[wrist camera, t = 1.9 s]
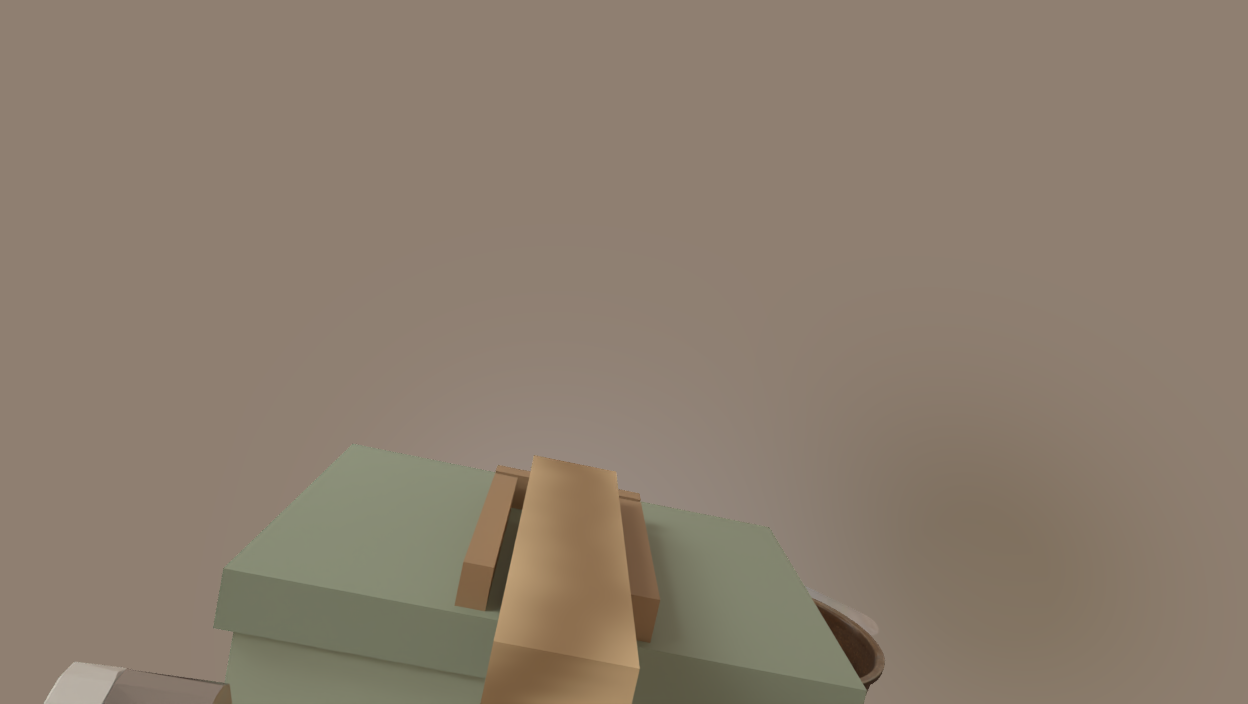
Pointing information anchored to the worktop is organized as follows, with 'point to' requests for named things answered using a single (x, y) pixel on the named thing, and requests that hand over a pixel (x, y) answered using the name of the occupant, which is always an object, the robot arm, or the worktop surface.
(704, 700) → the toolbox
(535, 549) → the tan bar
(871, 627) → the worktop surface
